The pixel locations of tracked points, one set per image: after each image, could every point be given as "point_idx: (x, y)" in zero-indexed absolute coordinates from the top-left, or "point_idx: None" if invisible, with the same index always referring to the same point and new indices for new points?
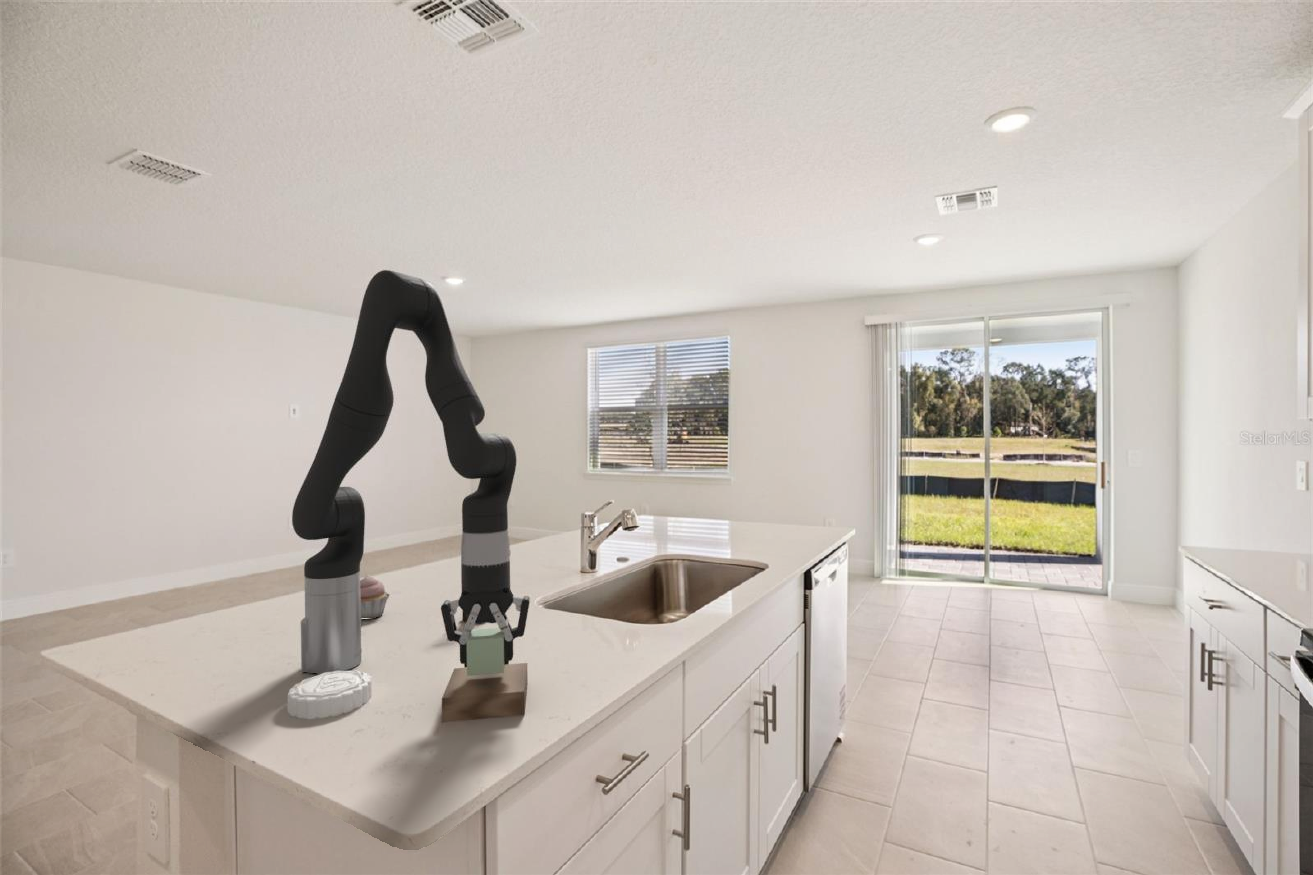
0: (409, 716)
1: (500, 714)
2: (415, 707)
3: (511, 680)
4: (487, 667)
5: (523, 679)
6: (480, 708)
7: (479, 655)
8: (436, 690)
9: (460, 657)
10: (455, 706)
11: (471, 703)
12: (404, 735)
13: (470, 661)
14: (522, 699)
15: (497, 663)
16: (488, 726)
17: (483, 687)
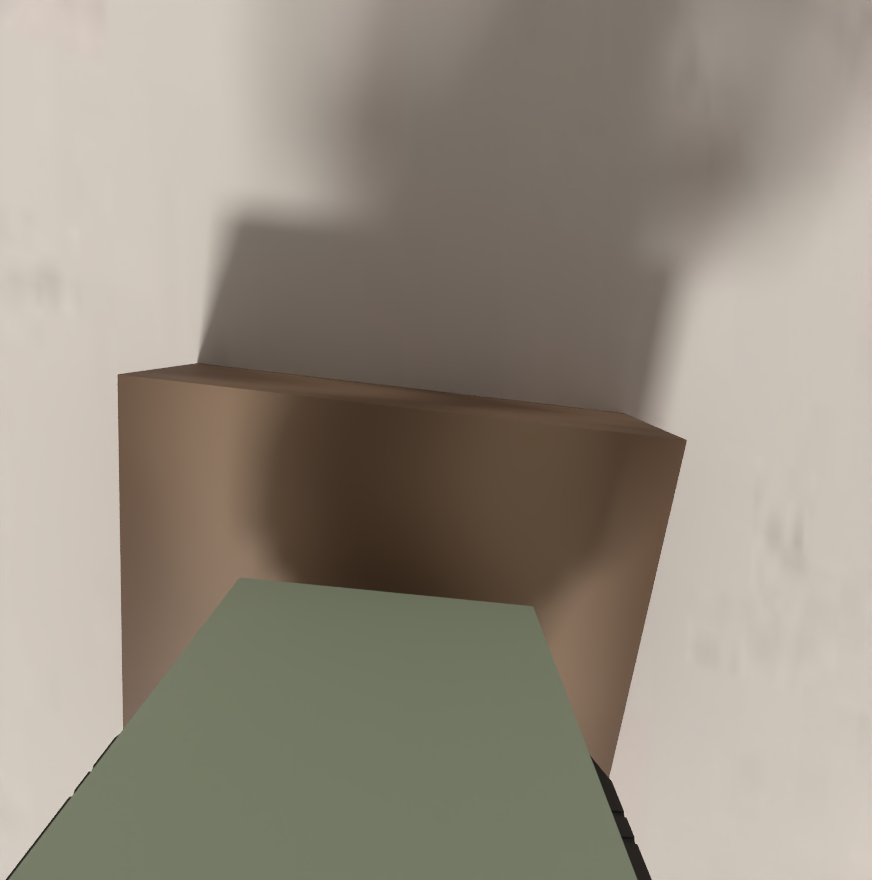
0: (774, 532)
1: (323, 380)
2: (741, 623)
3: (219, 595)
4: (363, 624)
5: (135, 587)
6: (430, 398)
7: (435, 715)
8: (637, 780)
9: (618, 811)
10: (579, 419)
11: (485, 410)
12: (810, 319)
13: (527, 682)
14: (161, 370)
15: (261, 631)
16: (390, 284)
17: (408, 535)
